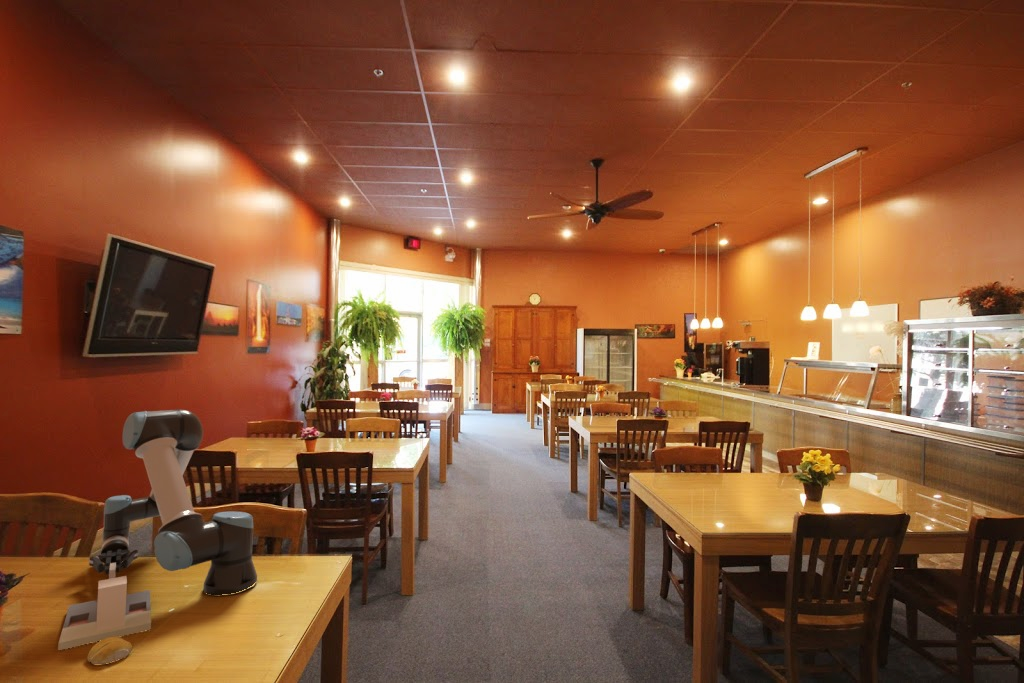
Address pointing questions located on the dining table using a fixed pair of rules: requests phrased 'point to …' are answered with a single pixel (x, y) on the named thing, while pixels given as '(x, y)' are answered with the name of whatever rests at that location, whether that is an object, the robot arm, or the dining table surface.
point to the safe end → (88, 631)
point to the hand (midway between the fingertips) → (112, 574)
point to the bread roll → (109, 650)
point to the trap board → (88, 610)
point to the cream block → (111, 603)
